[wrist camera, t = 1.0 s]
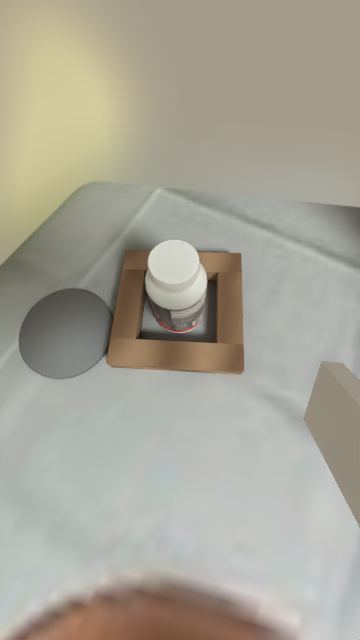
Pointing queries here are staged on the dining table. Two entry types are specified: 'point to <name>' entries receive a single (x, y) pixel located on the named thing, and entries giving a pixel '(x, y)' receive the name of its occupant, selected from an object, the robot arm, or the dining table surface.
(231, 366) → the pocket
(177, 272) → the pill bottle
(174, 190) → the dining table surface
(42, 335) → the coaster
